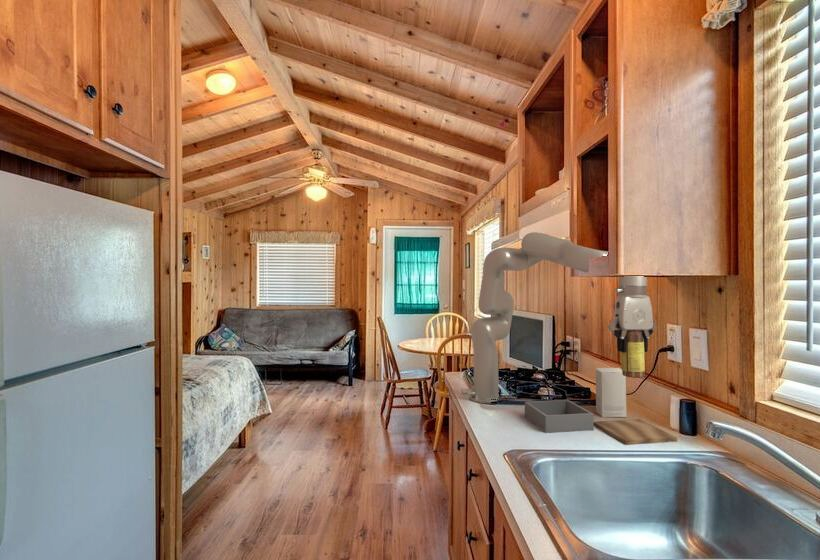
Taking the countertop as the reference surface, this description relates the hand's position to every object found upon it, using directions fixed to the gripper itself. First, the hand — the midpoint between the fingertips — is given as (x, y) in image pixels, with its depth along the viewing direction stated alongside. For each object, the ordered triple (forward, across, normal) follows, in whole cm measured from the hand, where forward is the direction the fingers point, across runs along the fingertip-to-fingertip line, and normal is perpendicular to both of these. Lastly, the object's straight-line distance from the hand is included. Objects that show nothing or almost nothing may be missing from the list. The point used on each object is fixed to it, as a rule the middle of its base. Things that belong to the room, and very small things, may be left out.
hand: (632, 350), depth 128 cm
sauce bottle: (+8, 0, 0) cm, 8 cm away
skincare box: (+25, +4, +17) cm, 30 cm away
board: (+25, 0, 0) cm, 25 cm away
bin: (+25, -18, +12) cm, 33 cm away
